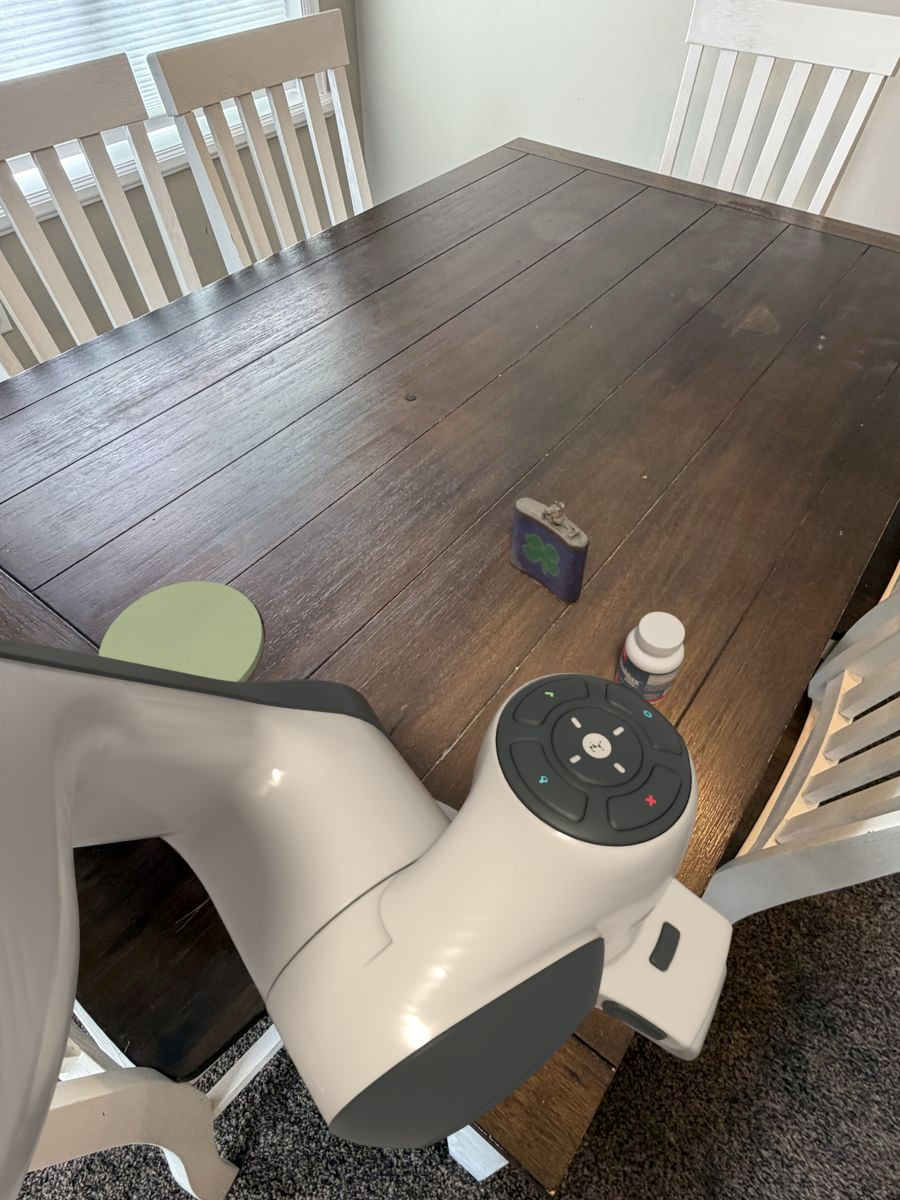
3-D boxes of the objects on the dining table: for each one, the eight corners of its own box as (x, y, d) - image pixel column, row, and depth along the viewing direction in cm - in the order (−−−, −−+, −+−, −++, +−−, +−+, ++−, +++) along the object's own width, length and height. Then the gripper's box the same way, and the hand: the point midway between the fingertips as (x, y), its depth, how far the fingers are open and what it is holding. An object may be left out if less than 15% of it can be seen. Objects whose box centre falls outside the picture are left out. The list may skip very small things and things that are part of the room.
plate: (186, 747, 67) (182, 741, 66) (67, 671, 72) (62, 664, 71) (296, 627, 75) (294, 620, 74) (183, 566, 81) (180, 559, 80)
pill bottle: (606, 666, 72) (621, 611, 65) (655, 655, 73) (676, 599, 66) (627, 711, 69) (645, 659, 62) (678, 700, 69) (702, 646, 62)
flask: (504, 562, 80) (510, 490, 72) (522, 548, 82) (530, 476, 73) (569, 609, 76) (583, 539, 68) (587, 594, 77) (603, 523, 69)
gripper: (352, 837, 39) (376, 910, 50) (724, 1071, 32) (659, 1097, 43) (416, 745, 42) (426, 833, 53) (766, 941, 36) (695, 995, 47)
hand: (532, 953), depth 48 cm, fingers closed on sponge, 5 cm apart
